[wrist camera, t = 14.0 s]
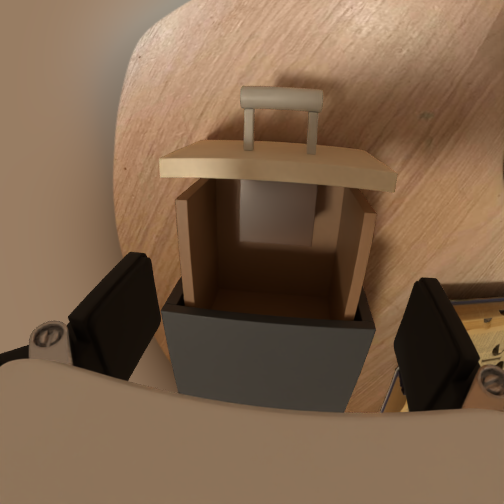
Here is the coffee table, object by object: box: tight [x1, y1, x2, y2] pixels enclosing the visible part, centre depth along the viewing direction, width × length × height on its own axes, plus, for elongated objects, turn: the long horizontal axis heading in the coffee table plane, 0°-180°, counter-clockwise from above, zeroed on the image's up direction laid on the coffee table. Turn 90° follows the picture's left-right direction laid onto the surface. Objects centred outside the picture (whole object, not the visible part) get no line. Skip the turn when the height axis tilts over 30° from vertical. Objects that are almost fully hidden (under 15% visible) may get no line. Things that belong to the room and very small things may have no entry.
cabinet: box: [161, 276, 376, 413], centre depth 28 cm, size 16×15×11 cm
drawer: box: [159, 86, 397, 321], centre depth 22 cm, size 19×14×9 cm
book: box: [380, 297, 504, 413], centre depth 31 cm, size 25×17×6 cm
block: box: [240, 179, 318, 247], centre depth 22 cm, size 5×5×5 cm
